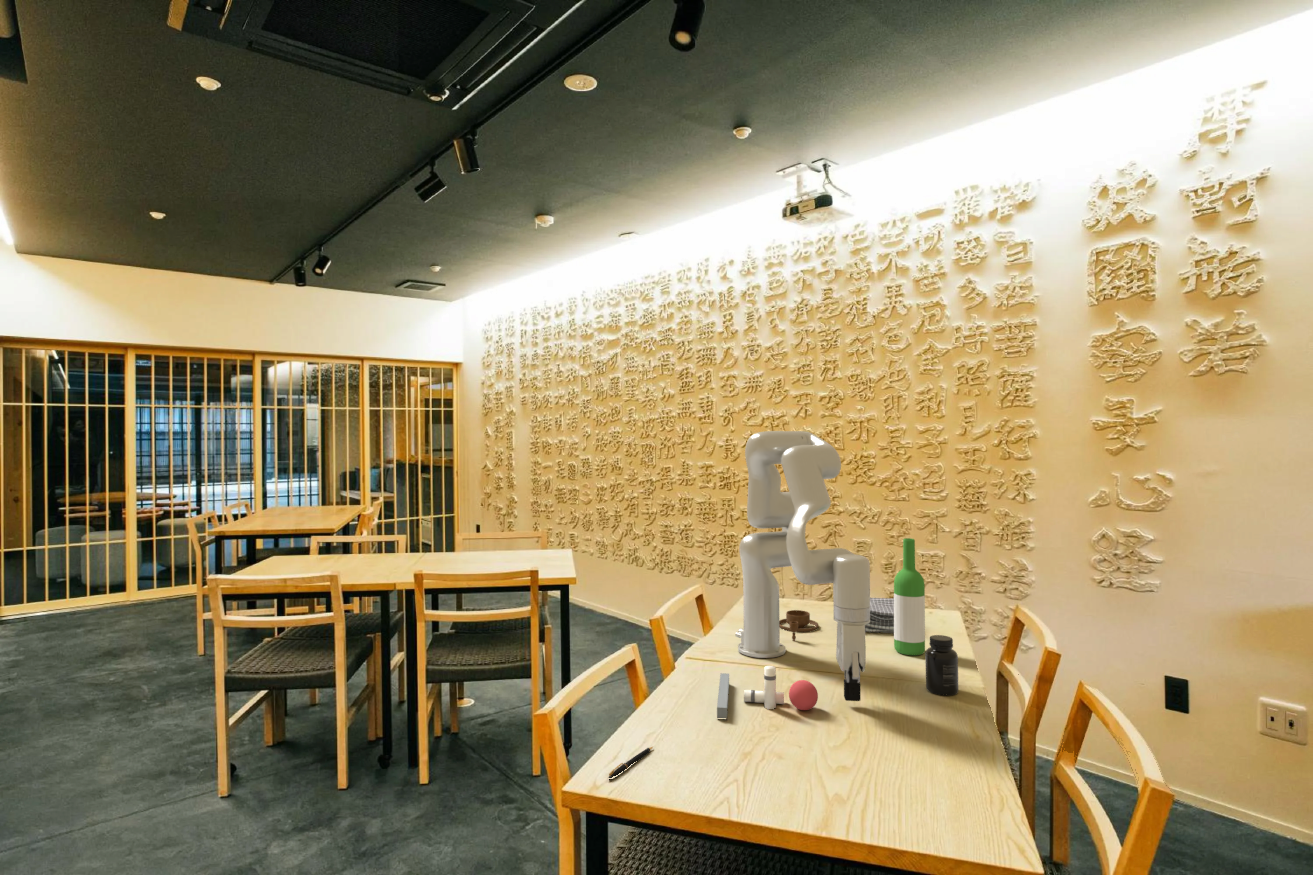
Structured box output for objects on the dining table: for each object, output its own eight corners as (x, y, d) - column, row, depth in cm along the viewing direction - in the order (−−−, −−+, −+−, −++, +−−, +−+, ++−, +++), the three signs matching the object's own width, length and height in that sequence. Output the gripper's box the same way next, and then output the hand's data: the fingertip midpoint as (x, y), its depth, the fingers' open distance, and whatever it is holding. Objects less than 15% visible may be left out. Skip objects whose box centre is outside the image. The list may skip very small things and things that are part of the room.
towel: (841, 619, 216) (841, 594, 216) (903, 622, 211) (903, 596, 211) (843, 632, 201) (843, 606, 201) (910, 636, 197) (909, 609, 197)
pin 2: (761, 706, 146) (761, 667, 146) (769, 704, 148) (769, 664, 147) (770, 710, 144) (770, 670, 144) (778, 707, 146) (778, 667, 145)
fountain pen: (650, 748, 128) (650, 740, 128) (656, 750, 127) (656, 742, 127) (605, 782, 115) (605, 773, 115) (610, 784, 115) (610, 775, 115)
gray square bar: (720, 683, 160) (720, 673, 160) (729, 684, 159) (729, 673, 159) (717, 719, 140) (716, 707, 140) (726, 719, 139) (726, 707, 139)
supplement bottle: (958, 687, 156) (958, 635, 156) (958, 698, 150) (957, 643, 150) (926, 683, 159) (926, 631, 159) (924, 693, 153) (924, 639, 153)
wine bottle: (912, 658, 177) (911, 542, 176) (887, 650, 183) (887, 538, 183) (931, 653, 181) (931, 539, 181) (906, 645, 187) (906, 535, 187)
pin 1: (783, 705, 148) (744, 702, 149) (783, 693, 149) (744, 690, 151) (783, 702, 146) (743, 700, 147) (783, 690, 147) (744, 688, 149)
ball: (800, 675, 143) (825, 685, 144) (787, 676, 148) (812, 685, 149) (794, 704, 140) (819, 714, 141) (781, 704, 146) (806, 714, 146)
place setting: (835, 630, 204) (834, 611, 204) (797, 645, 190) (796, 624, 190) (785, 619, 217) (785, 601, 216) (746, 633, 202) (746, 613, 202)
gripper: (829, 604, 154) (829, 685, 154) (838, 622, 139) (838, 712, 139) (863, 605, 153) (864, 687, 153) (876, 623, 138) (877, 714, 138)
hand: (852, 699), depth 146 cm, fingers closed
